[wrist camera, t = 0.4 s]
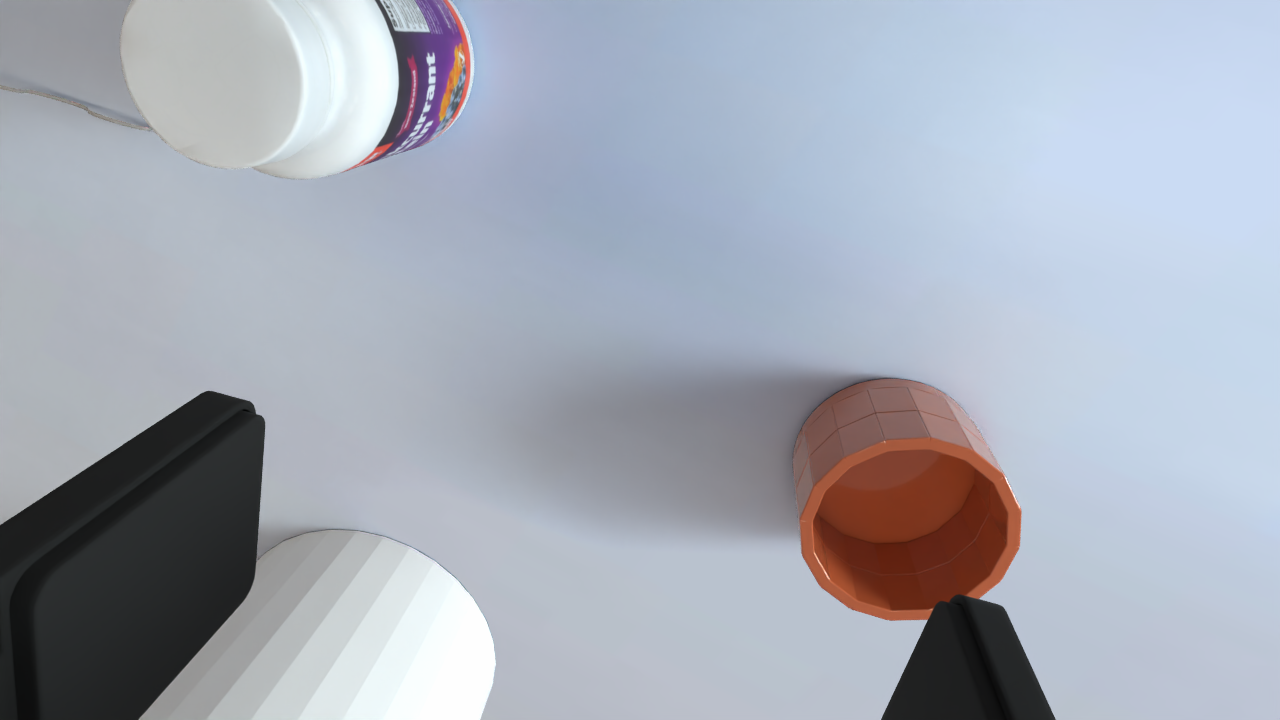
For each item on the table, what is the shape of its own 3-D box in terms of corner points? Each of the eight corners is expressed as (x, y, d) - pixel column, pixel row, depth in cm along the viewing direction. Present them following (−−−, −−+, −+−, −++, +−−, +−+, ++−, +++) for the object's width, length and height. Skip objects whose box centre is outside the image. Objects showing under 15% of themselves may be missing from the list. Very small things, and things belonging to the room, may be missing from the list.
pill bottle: (413, 181, 27) (250, 254, 18) (281, 64, 26) (40, 79, 17) (514, 52, 25) (388, 61, 16) (376, -79, 24) (161, -145, 15)
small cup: (829, 354, 28) (844, 411, 23) (1012, 409, 28) (1060, 475, 23) (768, 509, 30) (772, 586, 26) (935, 560, 30) (966, 644, 26)
